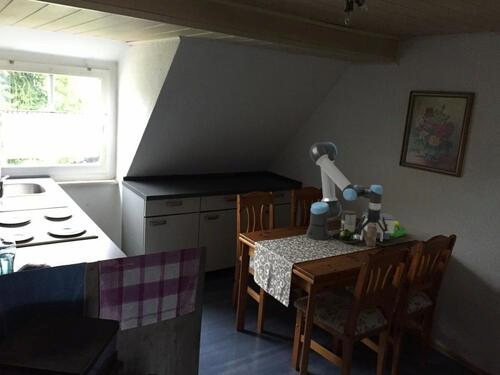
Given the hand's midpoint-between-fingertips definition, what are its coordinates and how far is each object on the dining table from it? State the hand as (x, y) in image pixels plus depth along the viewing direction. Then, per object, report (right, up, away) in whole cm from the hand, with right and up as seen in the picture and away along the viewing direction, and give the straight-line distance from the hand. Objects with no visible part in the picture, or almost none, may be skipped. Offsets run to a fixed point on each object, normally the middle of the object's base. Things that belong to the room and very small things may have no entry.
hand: (371, 240), depth 278 cm
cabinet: (+8, -1, +13) cm, 15 cm away
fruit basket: (+25, 0, +26) cm, 36 cm away
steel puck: (-7, -1, +11) cm, 13 cm away
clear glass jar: (-8, +3, +32) cm, 33 cm away
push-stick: (0, -2, +6) cm, 6 cm away
